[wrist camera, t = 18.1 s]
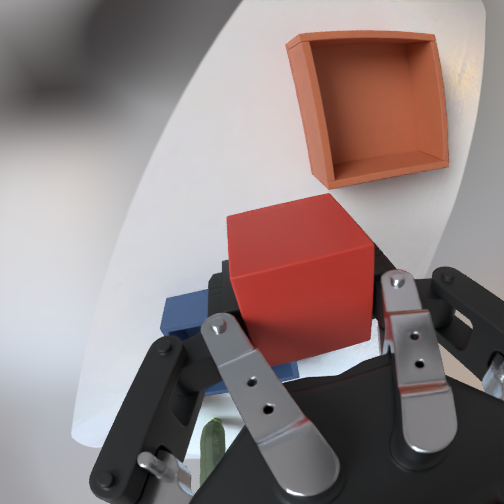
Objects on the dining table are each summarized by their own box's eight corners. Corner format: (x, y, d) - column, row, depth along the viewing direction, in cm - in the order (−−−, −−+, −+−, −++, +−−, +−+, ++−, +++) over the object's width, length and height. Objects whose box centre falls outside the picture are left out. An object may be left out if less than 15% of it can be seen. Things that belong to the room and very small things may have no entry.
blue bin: (166, 298, 30) (159, 328, 26) (275, 272, 29) (284, 301, 25) (201, 367, 35) (201, 396, 31) (292, 348, 35) (299, 377, 31)
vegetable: (194, 415, 41) (194, 536, 23) (215, 406, 40) (221, 535, 22) (213, 425, 43) (218, 539, 25) (234, 417, 42) (244, 537, 24)
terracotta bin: (285, 44, 19) (298, 33, 15) (405, 39, 19) (434, 34, 15) (311, 174, 25) (328, 190, 21) (420, 154, 24) (449, 167, 21)
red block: (226, 215, 13) (229, 278, 9) (329, 192, 13) (375, 242, 9) (249, 297, 15) (259, 369, 11) (337, 276, 15) (371, 340, 11)
